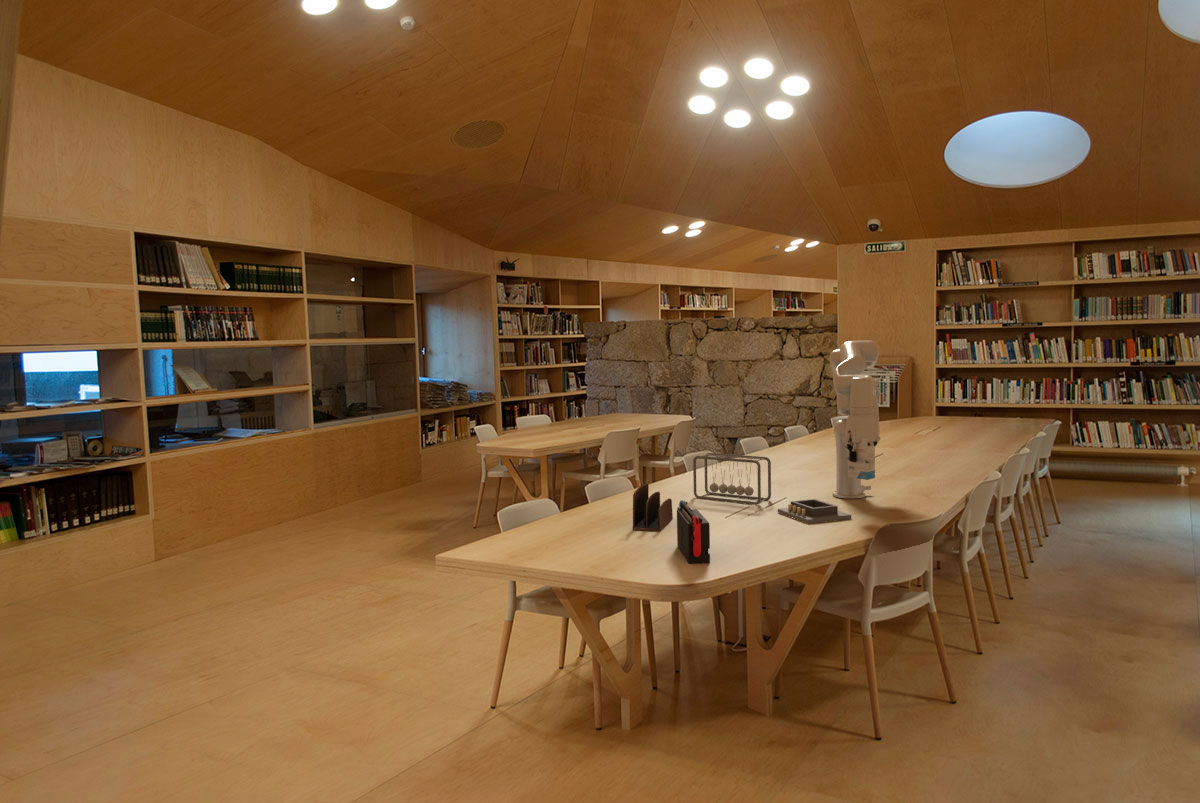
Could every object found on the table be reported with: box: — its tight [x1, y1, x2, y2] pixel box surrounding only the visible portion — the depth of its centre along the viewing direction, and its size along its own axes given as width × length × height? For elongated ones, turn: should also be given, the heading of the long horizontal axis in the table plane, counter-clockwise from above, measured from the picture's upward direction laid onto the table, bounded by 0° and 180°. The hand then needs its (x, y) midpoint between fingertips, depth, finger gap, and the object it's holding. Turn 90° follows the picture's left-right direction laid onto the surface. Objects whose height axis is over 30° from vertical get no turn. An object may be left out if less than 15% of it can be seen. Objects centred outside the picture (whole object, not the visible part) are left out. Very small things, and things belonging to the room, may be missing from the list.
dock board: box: [777, 498, 852, 524], centre depth 296 cm, size 18×20×4 cm
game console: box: [676, 499, 711, 565], centre depth 248 cm, size 28×6×15 cm, turn 4°
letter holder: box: [632, 483, 674, 532], centre depth 289 cm, size 10×20×14 cm, turn 162°
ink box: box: [848, 438, 876, 481], centre depth 291 cm, size 8×5×15 cm, turn 39°
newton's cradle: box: [692, 452, 772, 505], centre depth 329 cm, size 30×10×18 cm, turn 53°
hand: (861, 460), depth 291 cm, fingers closed on ink box, 6 cm apart
